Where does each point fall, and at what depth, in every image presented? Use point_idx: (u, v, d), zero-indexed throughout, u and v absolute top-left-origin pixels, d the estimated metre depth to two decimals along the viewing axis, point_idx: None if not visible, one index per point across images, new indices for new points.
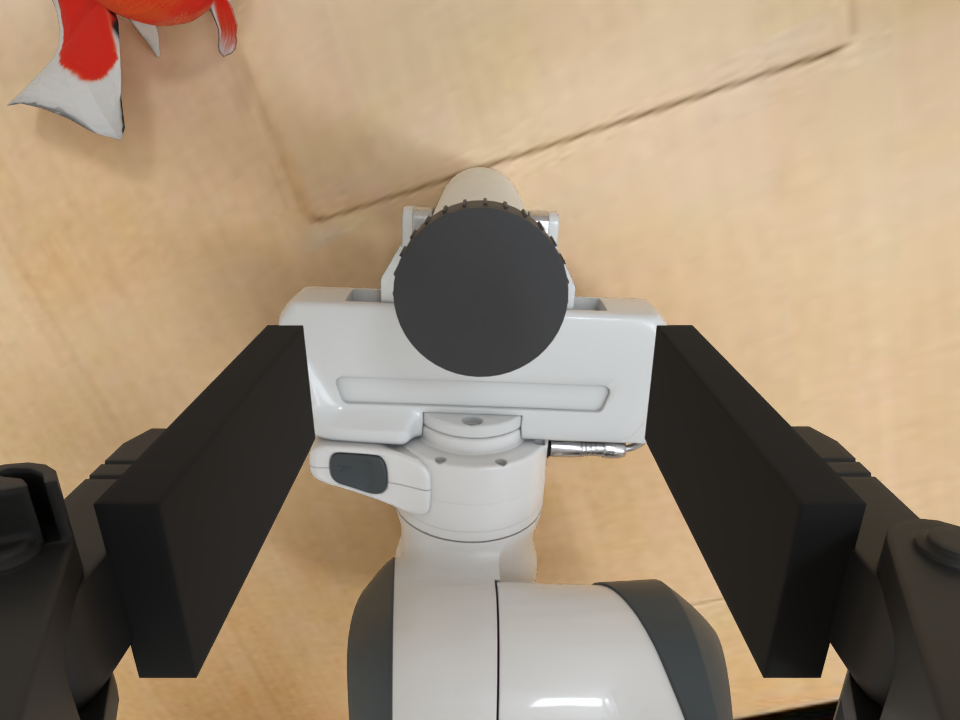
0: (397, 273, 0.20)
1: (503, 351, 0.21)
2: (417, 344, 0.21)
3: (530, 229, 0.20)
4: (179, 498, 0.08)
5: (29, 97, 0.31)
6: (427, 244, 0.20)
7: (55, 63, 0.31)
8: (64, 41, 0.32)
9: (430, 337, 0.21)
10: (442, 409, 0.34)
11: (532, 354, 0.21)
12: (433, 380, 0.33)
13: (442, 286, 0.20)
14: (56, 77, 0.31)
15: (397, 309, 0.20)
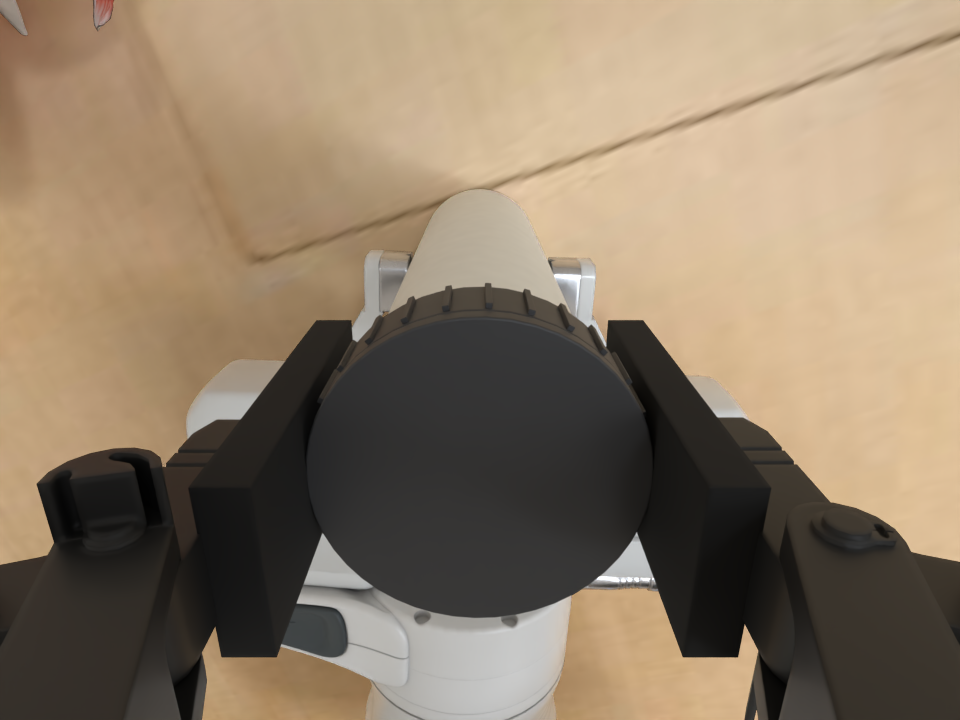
0: (311, 441, 0.10)
1: (523, 576, 0.11)
2: (357, 564, 0.11)
3: (582, 359, 0.09)
4: (264, 483, 0.08)
5: None
6: (370, 388, 0.10)
7: None
8: None
9: (382, 553, 0.11)
10: None
11: (579, 582, 0.11)
12: None
13: (402, 465, 0.10)
14: None
15: (315, 505, 0.10)
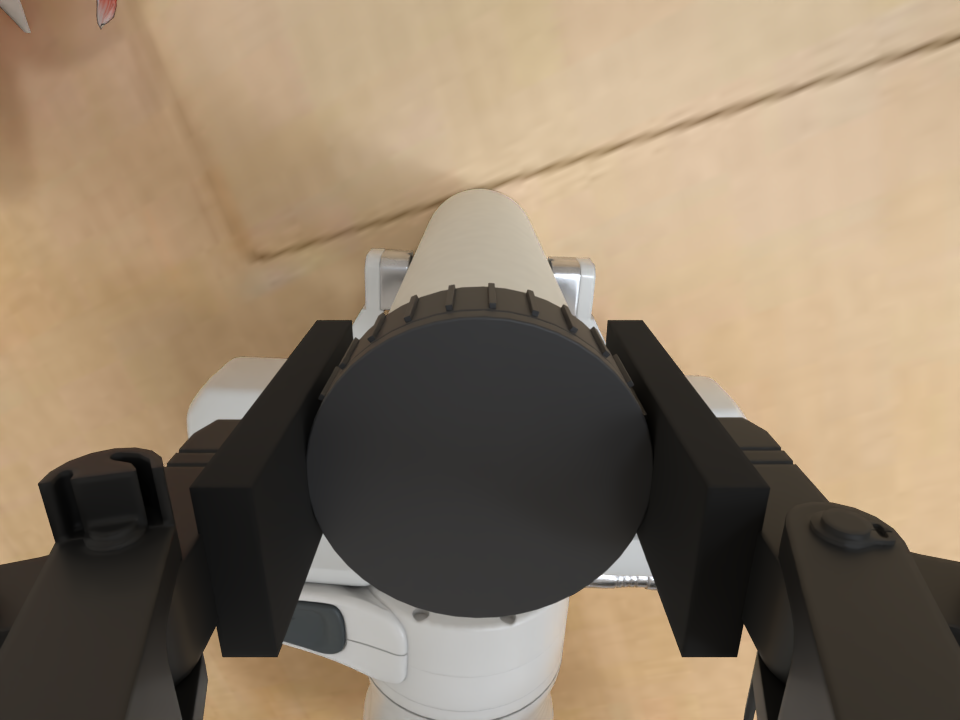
0: (477, 616, 0.11)
1: (583, 415, 0.10)
2: (604, 562, 0.11)
3: (320, 434, 0.10)
4: (265, 483, 0.08)
5: None
6: (411, 585, 0.11)
7: None
8: None
9: (584, 545, 0.11)
10: None
11: (576, 357, 0.09)
12: None
13: (479, 548, 0.11)
14: None
15: (543, 604, 0.11)
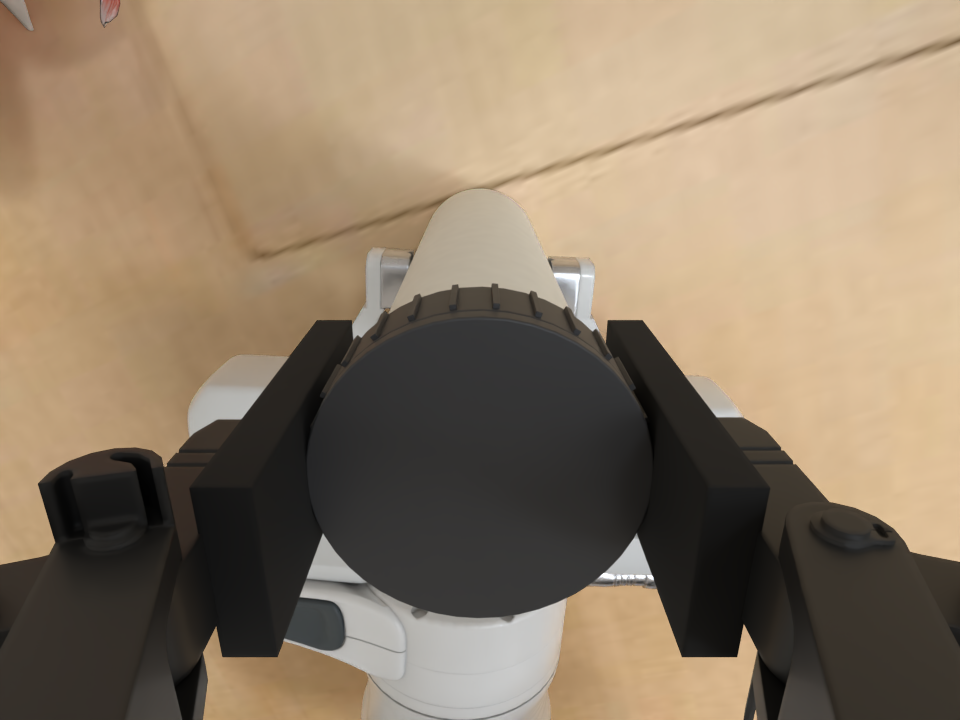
0: (648, 445, 0.10)
1: (375, 415, 0.10)
2: (544, 338, 0.09)
3: (468, 611, 0.11)
4: (265, 483, 0.08)
5: None
6: (619, 514, 0.10)
7: None
8: None
9: (527, 367, 0.09)
10: None
11: (320, 440, 0.10)
12: None
13: (556, 465, 0.10)
14: None
15: (618, 384, 0.10)
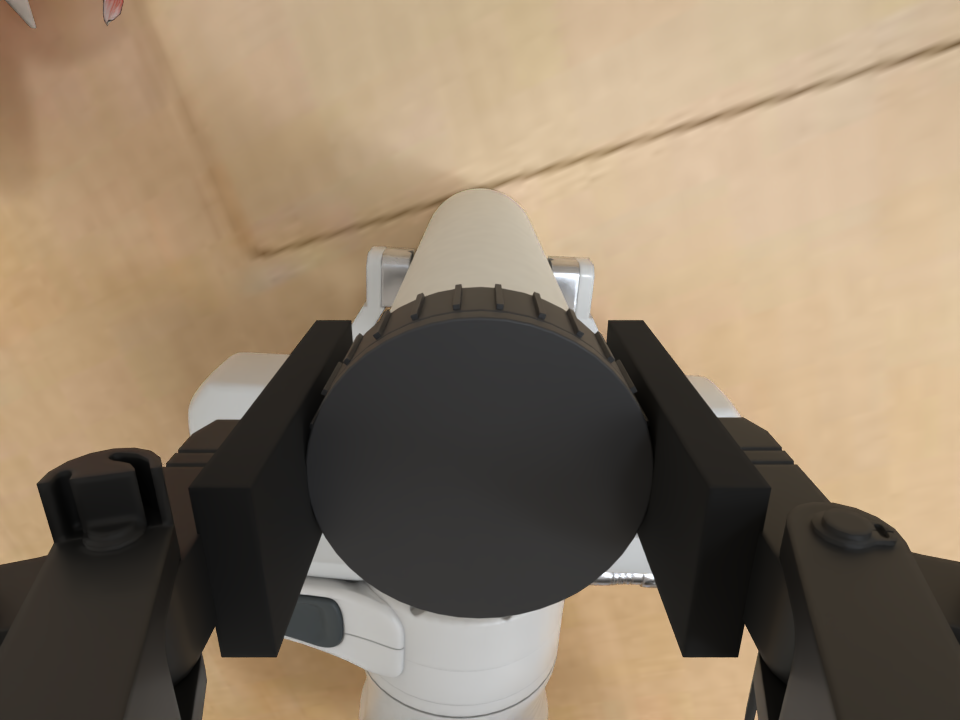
0: (385, 346, 0.09)
1: (436, 577, 0.11)
2: (314, 469, 0.10)
3: (643, 455, 0.10)
4: (264, 483, 0.08)
5: None
6: (476, 346, 0.09)
7: None
8: None
9: (346, 476, 0.10)
10: None
11: (473, 611, 0.11)
12: None
13: (437, 423, 0.10)
14: None
15: (332, 396, 0.10)
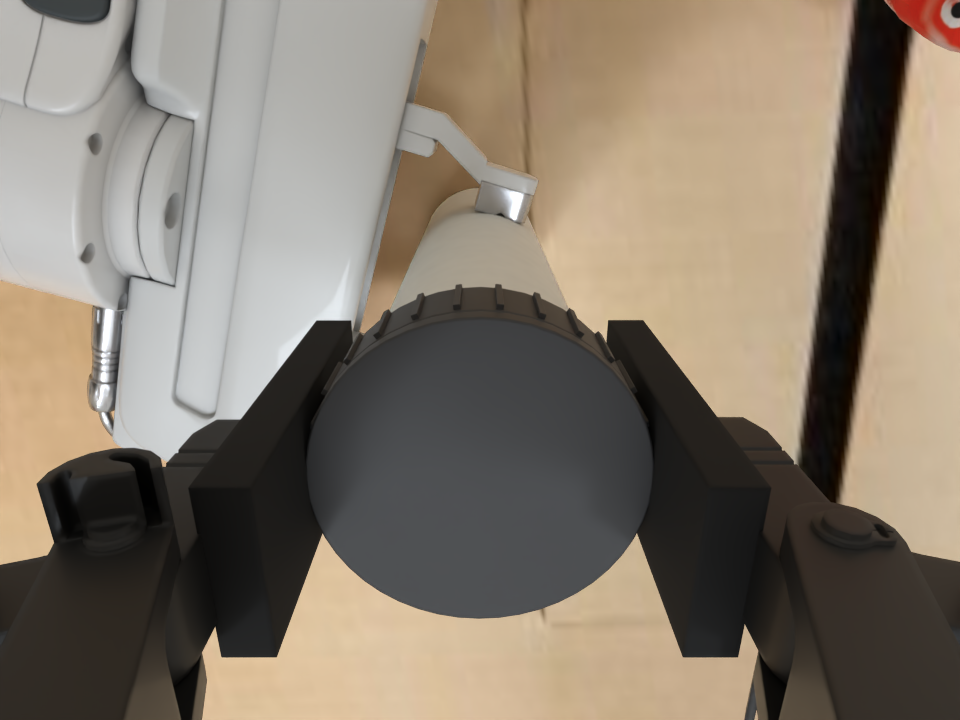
0: (385, 346, 0.09)
1: (436, 577, 0.11)
2: (314, 469, 0.10)
3: (643, 456, 0.10)
4: (264, 483, 0.08)
5: None
6: (476, 346, 0.09)
7: None
8: None
9: (346, 476, 0.10)
10: (197, 157, 0.19)
11: (473, 611, 0.11)
12: (254, 155, 0.19)
13: (437, 423, 0.10)
14: None
15: (332, 396, 0.10)
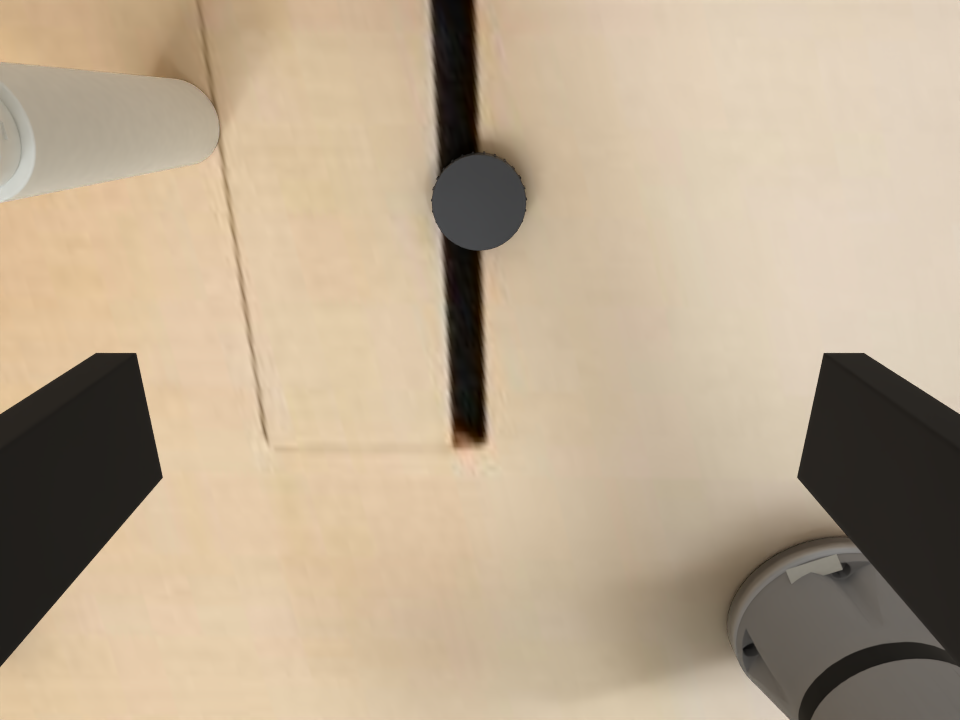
0: (455, 162, 0.37)
1: (466, 235, 0.39)
2: (434, 199, 0.38)
3: (522, 194, 0.38)
4: None
5: None
6: (478, 162, 0.37)
7: None
8: None
9: (443, 201, 0.38)
10: None
11: (477, 247, 0.39)
12: None
13: (467, 185, 0.37)
14: None
15: (440, 177, 0.37)
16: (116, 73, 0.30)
